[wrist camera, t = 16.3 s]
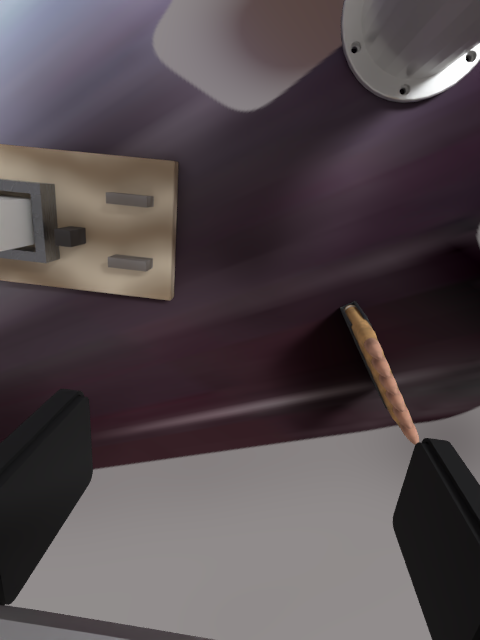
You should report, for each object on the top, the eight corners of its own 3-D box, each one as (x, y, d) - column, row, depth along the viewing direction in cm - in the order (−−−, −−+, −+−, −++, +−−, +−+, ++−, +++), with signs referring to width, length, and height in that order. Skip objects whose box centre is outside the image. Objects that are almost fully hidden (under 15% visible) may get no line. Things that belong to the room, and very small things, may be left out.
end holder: (-18, 176, 37) (-37, 175, 35) (54, 184, 37) (39, 183, 34) (-8, 251, 40) (-25, 254, 37) (60, 259, 39) (46, 263, 37)
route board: (-13, 143, 38) (-50, 137, 33) (178, 162, 36) (165, 158, 32) (4, 276, 42) (-26, 286, 38) (173, 296, 41) (162, 308, 37)
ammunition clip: (339, 307, 40) (364, 352, 29) (355, 300, 39) (387, 343, 28) (374, 386, 43) (410, 456, 31) (390, 380, 42) (432, 449, 31)
